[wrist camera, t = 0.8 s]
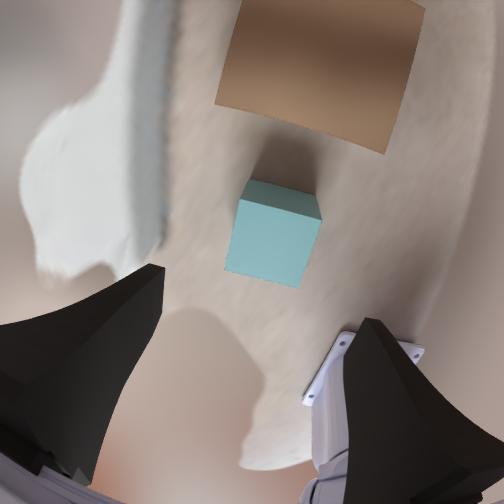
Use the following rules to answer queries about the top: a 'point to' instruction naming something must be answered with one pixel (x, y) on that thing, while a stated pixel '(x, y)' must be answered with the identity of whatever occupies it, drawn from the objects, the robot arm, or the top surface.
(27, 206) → the top surface
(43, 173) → the top surface
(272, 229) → the teal cube
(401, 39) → the walnut block
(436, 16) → the top surface
